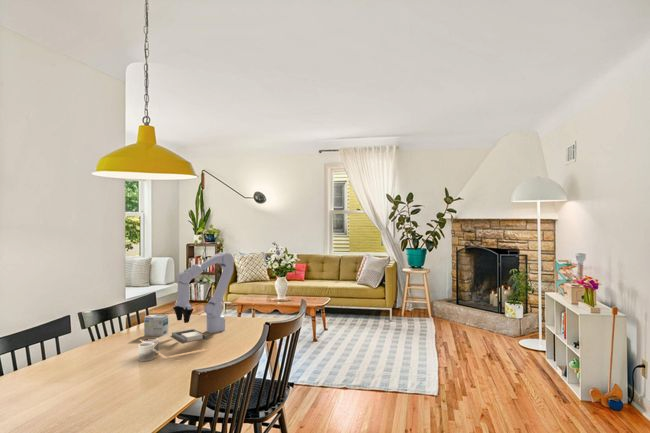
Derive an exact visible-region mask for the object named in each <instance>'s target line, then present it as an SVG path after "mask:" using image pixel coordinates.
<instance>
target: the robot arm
mask: <svg viewBox="0 0 650 433" xmlns="http://www.w3.org/2000/svg"><path fill="white" fill-rule="evenodd" d="M234 262H235V257H234V255H233V254H232V253H231V252H221V251H220V252H218V253H215V254H214V255H212V256H210V257H209V258H207V259H206V260H204V261H203V262H201V263H200V264H197V263H196V264H191V266H190V267H189V268H187V269H184V270H183V271H180V272H178V273H177V274H176V277H175V281H176V282H177V301H175V302H174V306H173V307H172V308H173V309H172V310H174V313H175V315H176V320H177V321H182V319H183V322H184V323H185V324H188V323H189V322H190V319H191V316H192V313H193V312H194V309H193V308H192V307H193V306H192V305H191V304H190V282H191V281H192V280H193V279H194V278H197V277H198V276H199V275H201V274H203V271H204V270H205V269H208V268H210V267H211V266H213V265H215V264H218V265H219V266H220V268H221V269H222V271H221V275H220V277H219V281H218V283H217V285H216V288H215V291H214V293H213V295H212V297H211V298H210V299H209V300H208V302H207V303H206V304H205V306H204V313H205V314H206V333H211V334H214V333H218V332H223V331H226V318H225V316H224V315H223V306H224V302H223V299H224V296H225V294H226V291H227V289H228V286H229V285H230V284H229V283H230V281H231V278H232V277H233V273H234V269H235V268H234V265H235V264H234Z"/></svg>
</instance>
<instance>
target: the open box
mask: <svg viewBox="0 0 650 433" xmlns="http://www.w3.org/2000/svg"><path fill="white" fill-rule="evenodd" d="M195 331H197V332H199V333H201V334H203V339H198V340H193V341H188V342H187V341H186V339H185V338H183V337H181V334H184V333H189V332H195ZM171 336H172V337H173V338H174V339H177V340H178V341H181V343H184V344H185V343H190V342H196V341H201V340H206V339H208V335H207V334H205V333H202V332H201V331H198V330H197V329H195V328H191V329H186V330H180V331H179V330H178V331H175V332H171Z"/></svg>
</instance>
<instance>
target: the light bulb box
mask: <svg viewBox="0 0 650 433" xmlns="http://www.w3.org/2000/svg"><path fill="white" fill-rule="evenodd" d="M143 322H144V323H143V326H144V327H143V330H144V331H143V332H144V334H143V335H144V337H150V336H153V337H154V336H161V337H162V336H163V337H164V336H165V335H167V334H168V333H169V314H148V315H146V316H144V317H143Z"/></svg>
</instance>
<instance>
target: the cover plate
mask: <svg viewBox="0 0 650 433" xmlns="http://www.w3.org/2000/svg"><path fill="white" fill-rule="evenodd" d="M197 331H198V330H197ZM197 331H195V332H189V333H184V334H181V337H183V338H185V339H186V341H187V342H186V343H189V342H188V341H191V342H194V341H193V340H197V341H199V340H198V339H202V340H204V339H203V334H204V333H203V334H201V333H202V332H201V333H199V332H200V331H199V332H197Z"/></svg>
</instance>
